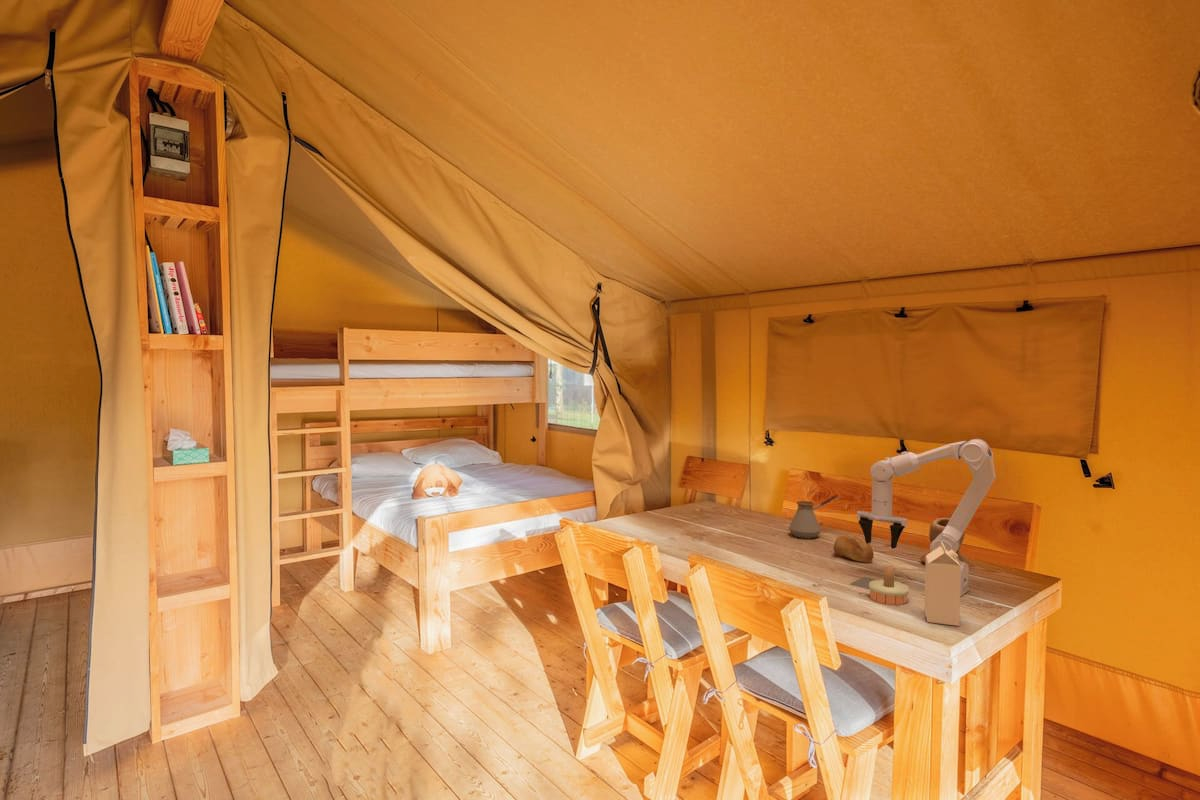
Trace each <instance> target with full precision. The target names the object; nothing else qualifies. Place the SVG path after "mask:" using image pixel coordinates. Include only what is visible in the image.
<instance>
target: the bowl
mask: <svg viewBox="0 0 1200 800" xmlns="http://www.w3.org/2000/svg"><path fill="white" fill-rule="evenodd" d="M869 598H870V600H872V601H874V602H876V603H879V604H883V605H888V606H889V605H890V606H901V605H905V604H906V603H907V602H908V594H907V595H902V596H892V595H885V594H880V593H877V592H874V591H872V590H871V589H869Z"/></svg>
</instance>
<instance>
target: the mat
mask: <svg viewBox="0 0 1200 800" xmlns="http://www.w3.org/2000/svg"><path fill="white" fill-rule="evenodd" d="M874 580H878V579H877V578H876V579H875V578H871V577H867V576H863V577H861V578H859V579H857V580H855V581H853V582H850V583H849V585H850V586H851V585H852V586H854V587H858V588H859V587H860V588H862V589H867V590H870V588H869V582H871V581H874Z"/></svg>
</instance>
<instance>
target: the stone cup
mask: <svg viewBox="0 0 1200 800" xmlns="http://www.w3.org/2000/svg"><path fill="white" fill-rule="evenodd" d="M950 518H951V517H950ZM950 518H949V517H939V518H936V519H934V520H933V521H932V522H931V523H930V526H929V533H928V534H929V535H928V536H929V538H928V539H929V542H930V544H931V543H932V541H933V540H935V539H936V537H937V536H938V535H939V534H941V533H942V532H943V530H944V528H945V527H946V525H947V524H948V522H949V520H950ZM965 535H966V530H965V531H964V533H963V535H962V536H961V538H960V547H959V549H958V550H957V551H956V552H955V553H956V554H957V555H958V557H959V560H960V561H961V562H964V563H967V564H968V563H970V559H969V558H968V557H967V556H965V555H966V554H963V553H962V551H960V549H961V546H962V543H963V542H964V539H965ZM928 554H929V553H928ZM928 554H923V555H921V556H919V560H920V561H921V562H923V563H925V564H926V555H928Z"/></svg>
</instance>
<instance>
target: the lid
mask: <svg viewBox="0 0 1200 800" xmlns="http://www.w3.org/2000/svg"><path fill="white" fill-rule="evenodd" d="M869 588H870V589H871V590H872V591H874V592H877V593H880V594H885V595H892V596H902V595H907V596H908V594H910V587H909V586H908V585H906V584H905V583H902V582H899V581H895V567H893V566H889V565H888V566H887V565H884V566H883V579H877V580H874V581H871V582H869ZM870 589H869V590H870Z"/></svg>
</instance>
